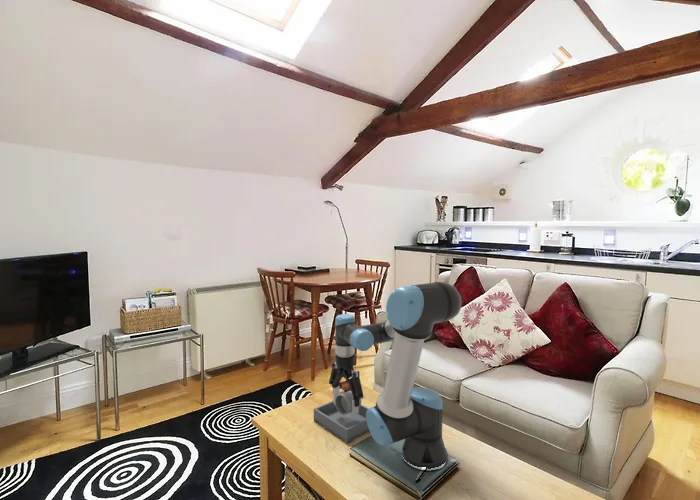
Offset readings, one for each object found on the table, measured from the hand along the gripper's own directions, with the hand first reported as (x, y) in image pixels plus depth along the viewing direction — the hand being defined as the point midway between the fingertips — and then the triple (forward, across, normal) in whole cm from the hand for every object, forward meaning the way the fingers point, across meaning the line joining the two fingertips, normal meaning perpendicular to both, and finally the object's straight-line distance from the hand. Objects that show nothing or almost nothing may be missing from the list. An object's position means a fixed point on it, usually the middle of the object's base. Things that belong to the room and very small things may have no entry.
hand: (345, 408), depth 151 cm
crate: (+6, 0, 0) cm, 6 cm away
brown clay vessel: (+7, +17, -16) cm, 24 cm away
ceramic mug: (+1, 0, 0) cm, 1 cm away
